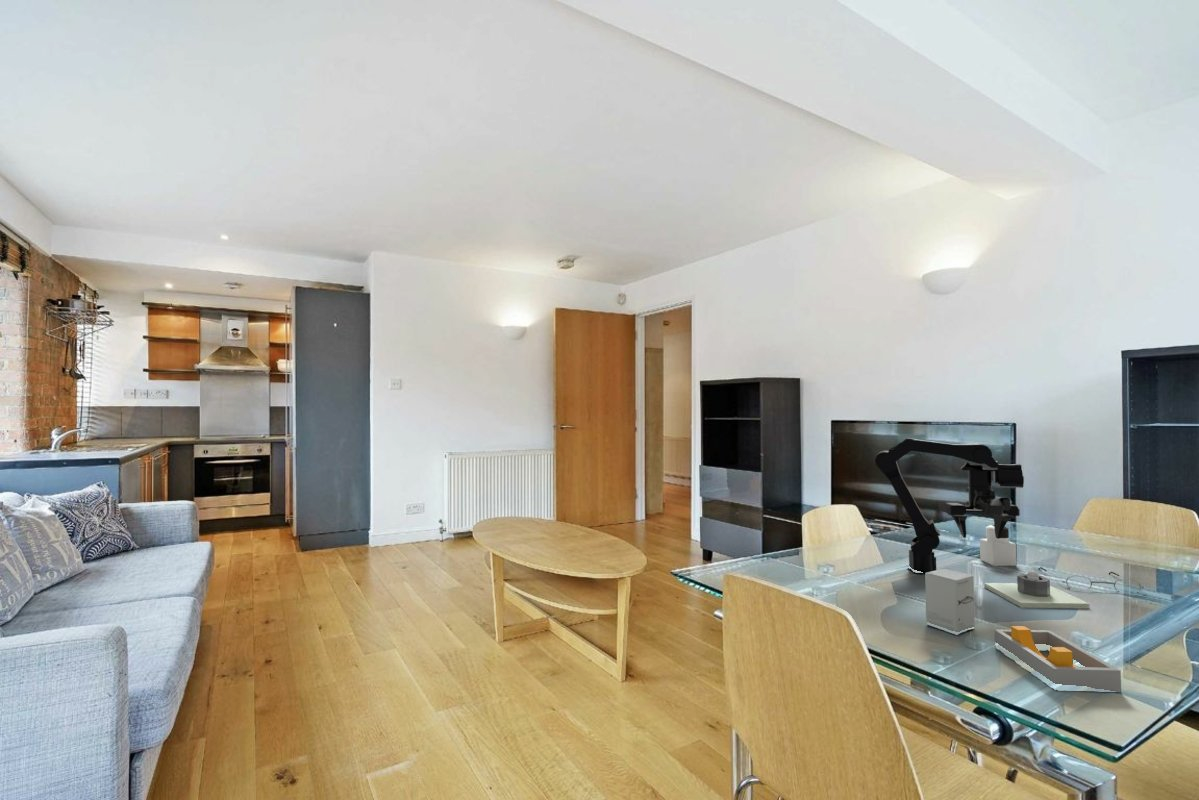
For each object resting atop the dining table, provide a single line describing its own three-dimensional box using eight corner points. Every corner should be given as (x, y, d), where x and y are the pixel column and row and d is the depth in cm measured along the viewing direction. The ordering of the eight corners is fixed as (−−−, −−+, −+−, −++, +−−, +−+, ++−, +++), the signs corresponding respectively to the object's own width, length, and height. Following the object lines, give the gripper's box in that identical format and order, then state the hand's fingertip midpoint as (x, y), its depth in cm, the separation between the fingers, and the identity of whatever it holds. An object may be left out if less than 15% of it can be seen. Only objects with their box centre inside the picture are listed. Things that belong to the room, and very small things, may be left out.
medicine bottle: (1003, 560, 183) (1001, 523, 184) (1017, 566, 176) (1015, 528, 176) (980, 560, 184) (978, 523, 184) (993, 566, 177) (991, 528, 177)
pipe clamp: (1083, 686, 102) (1081, 651, 102) (1059, 687, 102) (1058, 651, 102) (1033, 657, 114) (1032, 625, 114) (1012, 657, 114) (1011, 626, 114)
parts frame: (1055, 691, 101) (1054, 668, 101) (995, 648, 118) (994, 629, 119) (1121, 693, 99) (1120, 670, 100) (1050, 649, 117) (1049, 630, 117)
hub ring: (1028, 596, 146) (1028, 581, 146) (1013, 588, 152) (1012, 573, 152) (1055, 596, 145) (1054, 581, 145) (1038, 588, 151) (1037, 574, 151)
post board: (1021, 607, 141) (1020, 579, 141) (984, 587, 157) (983, 562, 157) (1089, 608, 140) (1088, 580, 140) (1045, 587, 156) (1044, 562, 156)
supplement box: (957, 636, 125) (955, 580, 125) (925, 625, 131) (923, 572, 132) (976, 629, 128) (974, 575, 128) (943, 619, 135) (942, 567, 135)
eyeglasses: (1063, 589, 155) (1063, 575, 155) (1037, 572, 173) (1036, 559, 173) (1146, 595, 149) (1145, 580, 149) (1109, 577, 167) (1108, 563, 167)
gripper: (960, 489, 159) (961, 544, 159) (1031, 490, 157) (1032, 545, 157) (941, 484, 170) (942, 535, 170) (1007, 484, 168) (1008, 536, 168)
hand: (980, 538), depth 166 cm, fingers open, 9 cm apart
